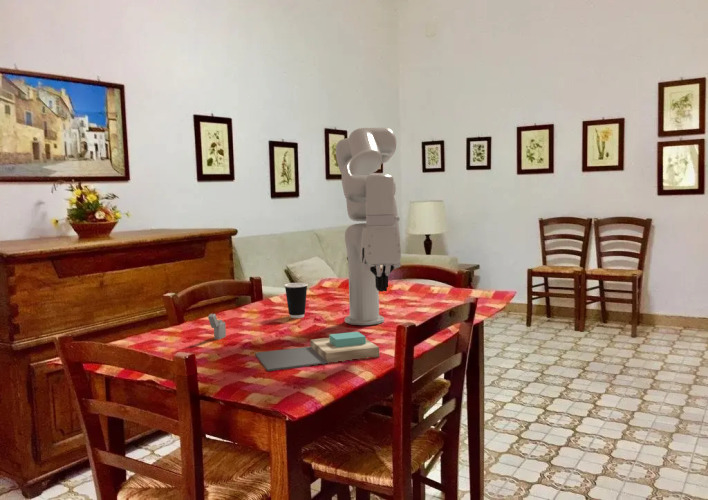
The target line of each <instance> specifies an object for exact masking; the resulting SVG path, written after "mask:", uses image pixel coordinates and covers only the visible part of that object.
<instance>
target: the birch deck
mask: <svg viewBox="0 0 708 500" xmlns="http://www.w3.org/2000/svg"><path fill="white" fill-rule="evenodd" d="M310 347H311V348H312V349H314V350H315V351H316V352H317V353H318V354H319V355H320V356H322V357H323V358H324V359H325V360H326V361H327V362H328V364H330V363H329V362H334V363H339V362H338V361H342V362H346V361H345V360H350V361H353V360H352V359H358V360H360V359H359V358H366V359H368V358H367V357H374V358H380V347H379V346H378V345H376V344H375V343H374V342H371V341H370V340H369V339H368V338H366V344H361V345H352V346H344V347H335V346H334V345H333V344H332V343H330V340H329V337H322V338H315V339H310Z"/></svg>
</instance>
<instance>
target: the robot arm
mask: <svg viewBox="0 0 708 500" xmlns="http://www.w3.org/2000/svg"><path fill="white" fill-rule="evenodd" d="M396 150H397V137H396V135H395V132H394V131H393V130H392V129H391V128H388V127H359V128H356V129H354V130H353V131H352V132H351V133H350V135H349V137H347V138H343V139H340V140H339V141H338V142H337V143H336V147H335V157H336V162H337V166H338V169H339V171H340V173H341V185H342V190H343V194H344V197H345V200H346V211H347V215H348V218H349V220H352V221H353V222H361V223H354V224H351V225H349V226H348V227H347V228H346V229H345V232H344V242H345V248H346V254H347V263H348V264H347V266H348V294H349V295H348V297H349V298H348V299H349V301H348V303H349V305H348V306H349V315H347V316H346V317H345V318H344V322H345V323H346V324H348V325H352V326H373V325H378V324H381V323H383V322H384V321H385V317H384V316H382V315H380V304H379V303H380V301H379V300H380V299H379V298H380V296H379V294H380V293H379V292H388V287H389V277H390V274H391V273H392V271H393V270H396V269H398V268H401V266H402V264H401V259H402V252H401V250H402V249H401V235H400V234H401V233H400V225H399V224H400V223H399V222H400V217H399V216H398V205H397V201H396V198H395V195H396V190H397V188H396V187H397V186H396V181H395V180H394V177H393V176H392V175H391V174H385V173H384V174H383V173H382V174H380V173H379V174H374V173H376V172H377V171H378V170H379V169H380V168H381V165H382V164H386V163H387V162H389V161H390V159H391V158H392V157H393V156H394V154H395V152H396ZM381 265H382V268H381Z"/></svg>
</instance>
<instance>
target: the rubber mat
mask: <svg viewBox="0 0 708 500" xmlns="http://www.w3.org/2000/svg"><path fill="white" fill-rule="evenodd" d="M254 354H255V356H256V357H257V359H258V360H259V362H260V363H261V364H262V366H263V367H264V368H265V370H266V371H267V372H272V371H280V370H281V369H282V370H291V369H297V368H304V367H303V366H306V367H311V366H310V365H314V366H319V365H318V364H322V365H327V364H326V363H328V362H327V361H326V360H325V359H324V358H323V357H322V356H320V355H319V354H318V353H317V352H316V351H315V350H314V349H312V348H311V346H304V347H303V346H302V347H294V348H284V349H276V350H268V351H267V350H266V351H259V352H254ZM328 364H329V363H328Z"/></svg>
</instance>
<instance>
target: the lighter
mask: <svg viewBox="0 0 708 500" xmlns="http://www.w3.org/2000/svg"><path fill="white" fill-rule="evenodd" d="M207 318H208V322H209V325H210V327H211V328H212V329H213V334H214V335H213V339H214V340H216V339H218V341H220V340H221V339H224V338H226V336H227V333H226V322H225V321H223V319H217V316H216V313H210V314H208V316H207Z"/></svg>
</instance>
